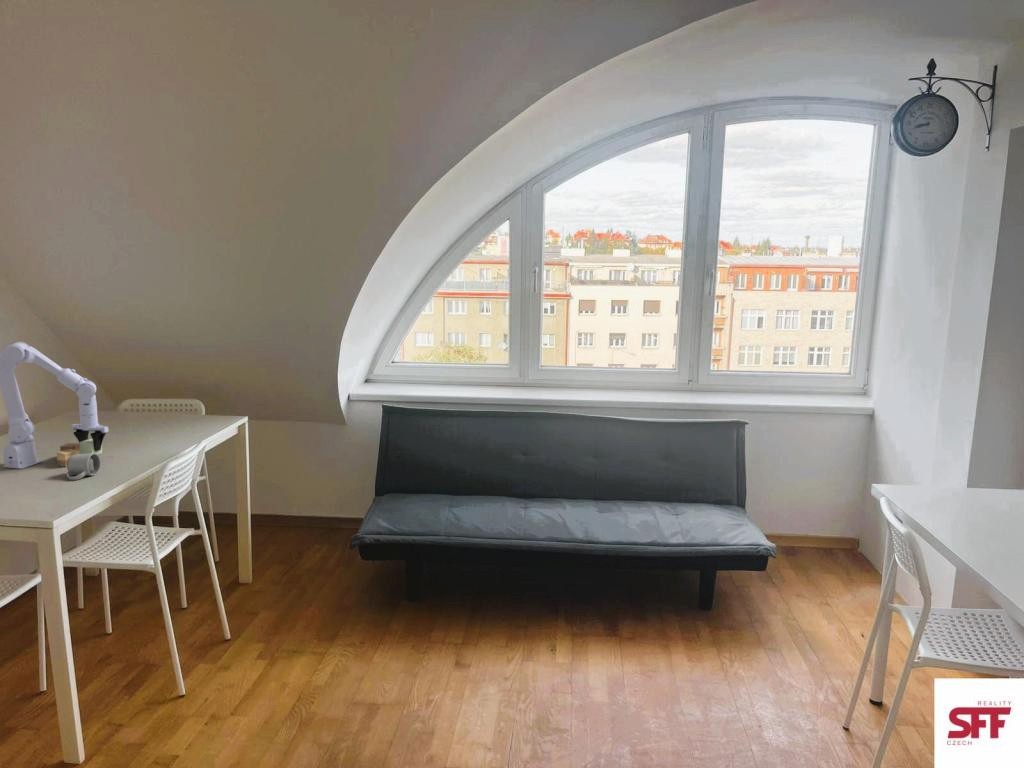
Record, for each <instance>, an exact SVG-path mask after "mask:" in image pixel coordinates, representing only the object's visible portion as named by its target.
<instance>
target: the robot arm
mask: <svg viewBox="0 0 1024 768" xmlns="http://www.w3.org/2000/svg"><path fill="white" fill-rule="evenodd" d="M23 360H24V361H23ZM22 361H23V362H24V363H25V364H26V363H27V364H28V363H29V364H30V363H34V364H36V365H38V366H40V367H42V368H43V369H45V370H46V371H48V372H50V373H51V374H53V375H55V376H56V379H57V381H58V382H59V383H60V384H62V385H63V386H65V387H66V388H68V389H69V390H71V391H73V392H75V393H76V396H77V397H78V410H79V412H78V413H79V423H73V424H70V430H71V431H74V432H73V435H74V436H75V437H76V439H77V442H78V443H80V442H81V441H84V440H88V439H89V435H90V436H91V439H93V443H94V449H95V451H99V450H101V445H102V444H103V441H104V438H105V436H106V434H107V433H108V432H109V426H105V425H102V424H100V423H99V418H98V417H99V416H98V404H97V397H96V392H97V386H96V384H95V383H94V382H93V380H89V379H88V378H87V377H83V376H81V375H80V374H78V373H76V370H75V368H72V369H71V368H69V367H68V368H63V367H61V366H60V365H58V363H56V362H54V361H53V360H51V359H50V358H49V357H47V356H46V355H44V354H43V353H42V352H41V351H39V350H38V349H36V348H35V347H33V346H31V345H29V344H28V343H26V342H24V341H16V342H14V343H13V344H10V345H7V346H6V347H5V348H4V349H3V350H2V351H1V352H0V390H1V394H2V397H3V401H4V404H5V408H6V411H7V414H8V421H7V423H8V430H7V435H8V438H9V439H10V441H9V443H8V444H5V445H4V447H3V451H2V452H3V460H4V462H3V463H4V465H2V467H3V468H9V469H10V468H11V469H20V470H21V469H25V468H27V467H31V466H34V465H37V464H41V463H43V460H41V459H37V454H36V444H35V437H34V436H33V433H34V432H35V425H34V423H33V422H32V421H31V419H30V417H29V415H28V413H26V411H25V407H24V404H23V399H22V396H21V392H20V389H19V385H18V382H17V378H16V375H15V371H14V370H15V368H16V367H17V366H18V365H19V364H20V363H21V362H22ZM90 432H91V433H90ZM102 446H103V445H102Z"/></svg>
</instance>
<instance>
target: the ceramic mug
mask: <svg viewBox="0 0 1024 768" xmlns="http://www.w3.org/2000/svg"><path fill="white" fill-rule="evenodd" d="M66 469H67V473H66V477H67V479H68V480H70V481H78V480H81V479H82V478H84V477H87V476H90V477H92V476H93V475H94V476H95V475H97V474H98V473H99V472H100V469H101V459H100V457H99V454H96V453H89V454H76V455H72V456H71V457H70V458H69V459H68V462H67V467H66ZM71 475H74V476H71Z"/></svg>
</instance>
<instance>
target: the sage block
mask: <svg viewBox="0 0 1024 768" xmlns="http://www.w3.org/2000/svg"><path fill="white" fill-rule="evenodd" d="M80 452H81V454H89V453H96V454H97V455H100V454H103V445H101V450H99V451H95V449H94V443H93V439H92V438H88V440H84V441H81V442H80Z"/></svg>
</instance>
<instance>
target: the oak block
mask: <svg viewBox="0 0 1024 768" xmlns="http://www.w3.org/2000/svg"><path fill="white" fill-rule="evenodd" d="M76 454H79V451H77V450H73V449H67V450H63V451H60V450H59V451H56V461H57V466H59V465H62V466H61V467H63V466H65V467H64V468H67V462H68V459H69V458H70V457H71V456H72V455H76Z"/></svg>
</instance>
